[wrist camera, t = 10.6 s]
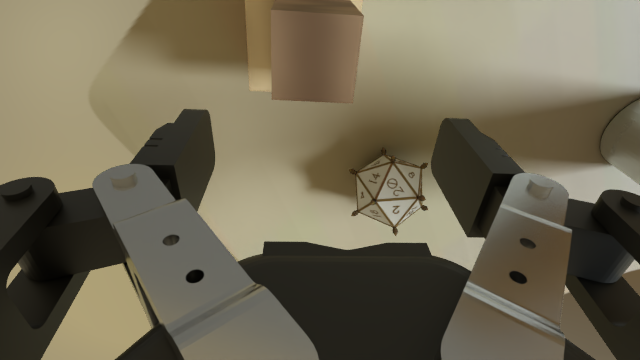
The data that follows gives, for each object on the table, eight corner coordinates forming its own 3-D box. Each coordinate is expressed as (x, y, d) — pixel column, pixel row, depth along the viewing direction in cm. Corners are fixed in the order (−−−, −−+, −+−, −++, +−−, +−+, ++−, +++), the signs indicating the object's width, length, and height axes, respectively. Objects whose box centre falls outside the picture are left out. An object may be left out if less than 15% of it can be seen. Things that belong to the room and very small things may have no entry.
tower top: (357, -26, 27) (365, -21, 23) (346, 78, 31) (351, 95, 28) (250, -33, 26) (243, -29, 23) (254, 74, 30) (249, 90, 27)
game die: (360, 153, 44) (320, 171, 36) (425, 132, 39) (396, 146, 31) (383, 220, 45) (349, 252, 36) (450, 206, 40) (428, 240, 32)
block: (350, 0, 24) (363, 15, 19) (342, 73, 27) (352, 103, 22) (276, -5, 24) (270, 9, 19) (276, 69, 26) (271, 99, 21)
